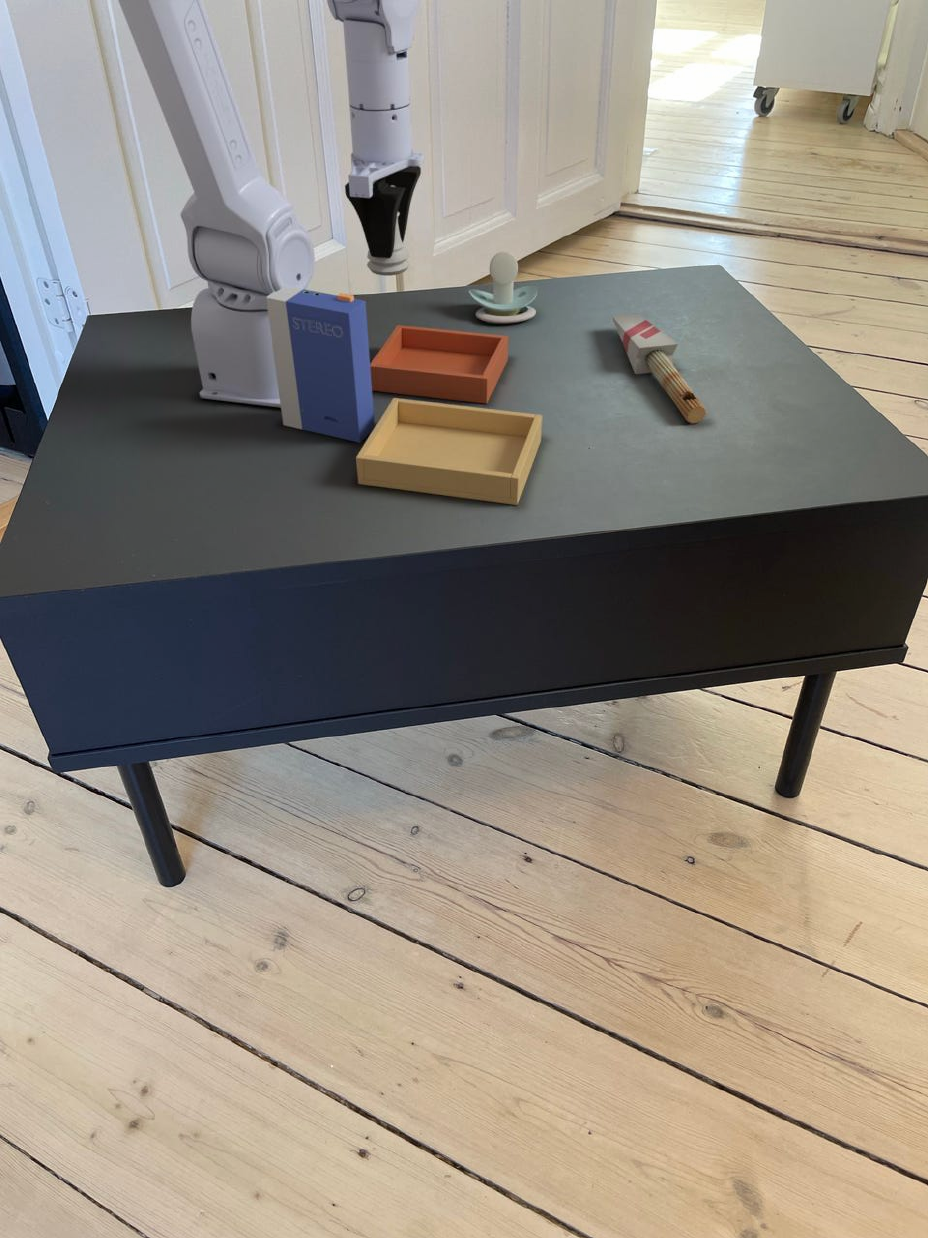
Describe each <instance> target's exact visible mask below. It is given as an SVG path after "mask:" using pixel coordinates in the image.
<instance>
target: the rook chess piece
mask: <svg viewBox="0 0 928 1238" xmlns="http://www.w3.org/2000/svg"><path fill="white" fill-rule="evenodd" d="M390 187H395V186H393V185H391V186H390ZM399 214H400V213H399V212H398V213H397V219H396V228H395V242H394V250H393V254H392V257H391V258H381V257H372V256H371V254H370V251H369V250H368V251H367V256H366V258H367V259H368V260H369V261H367V264H366V266H367V268H368V269H369V270H370V271H371V272H372V273H373V274H375V275H378V276H383V277H384V276H389V277H390V276H397V275H401V274H403V273H405V272H406V271H407V270H408V268H409V267H410V261H409V260H408V258H409V251H408V249H407V248H406V247H405V243H404V241H403V242H402V240H401V237H400V232H399V226H398V216H399Z"/></svg>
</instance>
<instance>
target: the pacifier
mask: <svg viewBox="0 0 928 1238" xmlns="http://www.w3.org/2000/svg"><path fill="white" fill-rule="evenodd" d="M518 272H519V263H518V260H517V258H516V257H515V255H514V254H512V253H511V252H509V251H505V250H504V251H500V252H497V253H495V255H493V257H492V258H491V260H490V263H489V274H490V277H491V278H492V280H493V289H492V290H493V291H492V292H493V293H490V292H488V291H483V290H479V289H474V288H469V289H468V295H469V296H470V298H471V299H472V300H473V301H474V302H475V303H477V304H478V305H480V306H482V307H481V308H479V309H478V310H477V311H476V312H475V317H476V318H477V319H479V320H481V321H483V322H487V323H492V324H514V323H520V322H525V321H527V320H530V319H532V318H534V317H535V316H536V314H537V310H536V309H535V308H534V307H532V306H529V305H530V304H531V303H532V302H533V301H534V300H535V299H536V297H537V295H538V286H537V285H534V284H530V285H524V286H522V287H519V288H516V289H514V281H515V279H516V278H517V276H518V274H519V273H518ZM521 312H522V313H521Z"/></svg>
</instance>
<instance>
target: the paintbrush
mask: <svg viewBox="0 0 928 1238" xmlns="http://www.w3.org/2000/svg"><path fill="white" fill-rule="evenodd" d="M611 318H612V321H613V324H614V326H615V328H616V330H617V333H618V335H619V338H620V339H621V340H620V341H621V343H622V346H623V349H624V351H625V352H626V355H627V357H628V360H629V363H630V365H631V367H632V370H633V372H634V374H635V375H642V374H651V373H653V374H654V376H655V377H656V378H657V380H658V382H659V383H660V384H661V386H662V388H663V389H664V390H665V392H666V394H667V395H668V396H669V397H670V399H671V400H672V402H673V403H674V404H675V406H676V407H677V409H678V410H679V411H680V413H681V414H682V417H684V419H685V420H686V421H687V423H690V424H697V423H700V422H701V421H703V420H704V418H706V415H707V409H706V408H705V406H704V405H703V404H702V402H701V401H700V400H699V398H698V397H697V396H696V394H695V393H694V392H693V390H692V389H691V387H690V386H689V385H688V384H687V382H686V381H685V379H684V378H683V376H682V375H681V373H680V372H679V371H678V370H677V368H676V367H675V366H674V353H675V351H676V349H677V347H678V345H679V344H678V343H677V342H676V341H674V340H673V339H671V337H669V336H668V335H667V334H665V332H663V331H661V330H660V329H659V328H657V327H656V326H655V325H654V324H652V323H651V322H650V321H649V320H647V319H645V318H644V317H643V316H641V315H640V314H639V313H638V312H635V313H626V314H616V315H615V314H614V315H611Z"/></svg>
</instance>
